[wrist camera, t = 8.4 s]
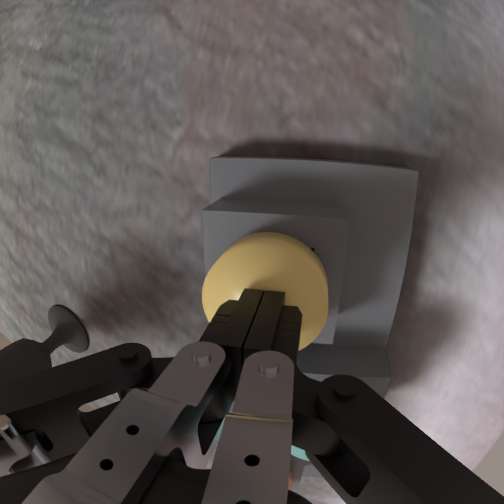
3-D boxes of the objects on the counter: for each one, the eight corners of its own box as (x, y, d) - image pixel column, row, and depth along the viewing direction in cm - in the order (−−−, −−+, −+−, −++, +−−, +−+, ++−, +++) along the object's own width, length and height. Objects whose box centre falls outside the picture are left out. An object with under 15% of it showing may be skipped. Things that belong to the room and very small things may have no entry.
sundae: (48, 281, 22) (-81, 378, 9) (104, 333, 23) (-14, 462, 9) (38, 324, 25) (-61, 412, 11) (87, 369, 25) (-4, 476, 12)
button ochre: (229, 213, 15) (198, 240, 11) (331, 219, 14) (335, 251, 10) (231, 301, 17) (206, 347, 13) (322, 310, 16) (320, 362, 12)
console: (218, 156, 16) (189, 163, 12) (410, 168, 14) (437, 178, 10) (232, 453, 25) (221, 486, 22) (336, 465, 23) (334, 499, 20)
